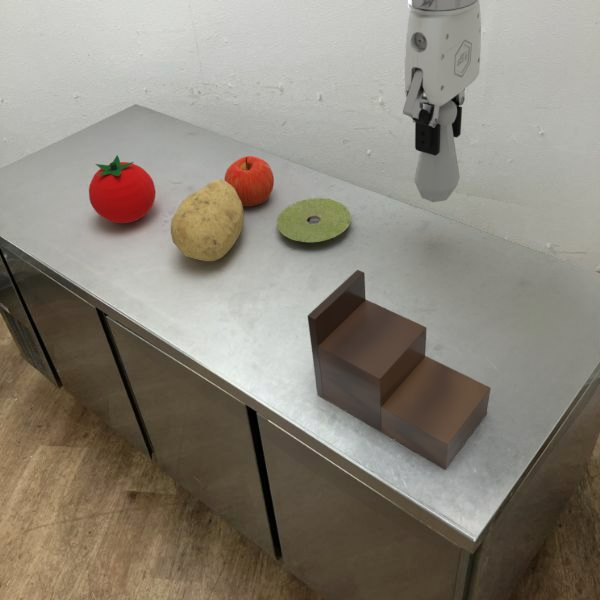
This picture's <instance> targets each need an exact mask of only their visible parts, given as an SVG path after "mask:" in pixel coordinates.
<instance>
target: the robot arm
mask: <svg viewBox="0 0 600 600" xmlns="http://www.w3.org/2000/svg"><path fill="white" fill-rule="evenodd" d="M480 4H481V3H480V0H407V9H408V10H409V12H408V18H407V23H406V24H407V25H406V34H405V43H404V59H403V89H404V90H403V91H404V96H405V97H406V98H405V102H404V106H403V108H402V115H405V116H408V117H409V118H411V120H412V122H413V123H414V125H415V126H414V149H415V150H416V151H417V152H420V151H421V152H424V153H428V154H431V155H435V156H436V155H437V154H439V152H440V129H441V125H440V124H437V122H438V115H439V108H440V106H442V105H444V104H445V103H447V102H448V101H450V100H451V101H453V102H454V103H455V105H456V107H457V116H456V118H455V121H454V122H453V123H452V130H453V136H454V138H455V139H456V138H458V137H460V136H461V134H462V116H463V105H464V103H465V99H466V98H465V97H466V96H465V90H466V88H467V87H469V86H470V85H472V83H474V82H475V81H476V79H477V78H478V77H479V74H480V70H481V69H480V68H481V46H482V44H481V43H482V42H481V41H482V22H481V21H482V20H481V19H482V18H481V6H480ZM424 94H425V95H424ZM423 104H427V105H431V110H430V113H429V112H428V111H427V110H424V109H423Z"/></svg>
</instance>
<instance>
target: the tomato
mask: <svg viewBox="0 0 600 600" xmlns="http://www.w3.org/2000/svg"><path fill="white" fill-rule="evenodd" d="M118 155H119V154H116V156H115V158H114V159H113V161H112V162H110V163H109V164H99V163H95V166H97V167H98V168H99V169H98V170H97V171H96V173H94V175H93V176H92V179H91V180H90V183H89V186H88V199H89V202H90V205H91V207H92V209H93V210H94V211H95V212H96V213H97V215H99V216H100V217H101V218H103V219H105V220H106V221H109V222H112V223H116V224H128V223H133V222H136V221H137V220H140V219H141V218H143V217H144V216H145V215H147V214H148V212H149V211H150V210H151V209H152V207H153V205H154V203H155V199H156V186H155V183H154V181H153V178H152V177H151V175H150V174H149V173H148V172H147V171H146V170H145V169H144V168H142V167H141V166H140V165H137V164H135V163H134V161H131V162H129V161H121V160H120V158H119V156H118Z"/></svg>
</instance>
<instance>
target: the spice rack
mask: <svg viewBox="0 0 600 600" xmlns="http://www.w3.org/2000/svg"><path fill="white" fill-rule="evenodd" d="M307 323H308V330H309V338H310V349H311V355H312V362H313V363H312V364H313V370H314V380H315V387H316V394H317V396H318V397H320V398H322V399H324V400H325V401H327V402H329V403H330V404H332V405H334V406H336V407H337V408H339V409H340V410H342V411H344V412H346V413H347V414H349V415H351V416H352V417H354V418H356V419H358V420H360V421H361V422H363V423H364V424H366V425H368V426H370V427H372V428H374V429H375V430H376V431H378V432H381V433H382V434H383V435H385V436H387V437H389V438H390V439H393V440H394V441H396V442H397V443H399V444H401V445H403V446H405V447H406V448H408V449H410V450H411V451H413V452H415V453H416V454H418V455H420V456H421V457H423V458H425V459H427V460H428V461H430V462H432V463H434V464H436V465H437V466H439V467H440V468H442V469H444V470H447V468H448V467H449V466H450V464H451V463H452V461H453V460H454V459H455V457H456V456H457V454H459V452H460V450H461V449H462V448H463V446H465V444H466V443H467V442H468V440H469V438H470V437H471V435H473V433H474V431H475V430H476V429H477V428H478V427H479V425H480V423H481V422H482V421H483V419H484V418H485V417H486V415H487V413H488V408H489V402H490V394H491V390H492V389H491V387H490V386H488V385H486V384H484V383H483V382H480V381H478V380H476V379H474V378H472V377H470V376H468V375H466V374H465V373H461V372H459V371H458V370H455V369H453V368H451V367H450V366H448V365H445V364H443V363H441V362H439V361H437V360H435V359H433V358H431V357H429V356H426V347H427V328H428V327H427V326H424V325H423V324H420V323H418V322H416V321H413V320H411V319H409V318H407V317H405V316H403V315H402V314H398V313H396V312H394V311H392V310H390V309H388V308H385V307H383V306H381V305H379V304H377V303H375V302H373V301H370V300H368V299H366V277H365V272H364V271H362V270H360V269H356V270H355V271H354V272H353V273H352V274H351V275H350V276H348V277H347V278H346V279H345V280H344V281H343V282H342V283H341V284H339V286H338V287H337V288H336V289H335V290H333V292H331V293H330V294H329V295H328V296H327V297H326V298H325V299H324V300H322V302H321V303H319V304H318V305H317V306H316V307H315V308H314V309H313V310H312V311H310V312H309V314H307Z"/></svg>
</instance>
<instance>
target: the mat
mask: <svg viewBox="0 0 600 600" xmlns="http://www.w3.org/2000/svg"><path fill="white" fill-rule="evenodd" d="M351 221H352V215H351V212H350V209H348V207H346V205H344V204H343V203H341V202H339V201H337V200H334V199H331V198H322V197H313V198H307V199H302V200H299V201H296V202H293V203H292V204H290V205H288V206H287V207H285V208H284V209H283V210H282V211H281V212H280V213H279V215H278V218H277V220H276V225H277V229H278V231H279V232H280V233H281V234H282V235H283V236H284V237H286V238H288V239H290V240H292V241H296V242H301V243H319V242H325V241H328V240H331V239H333V238H336V237H337V236H339V235H341V234H342V233H343V232H345V231H346V230H347V229H348V228H349V226H350V224H351Z"/></svg>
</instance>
